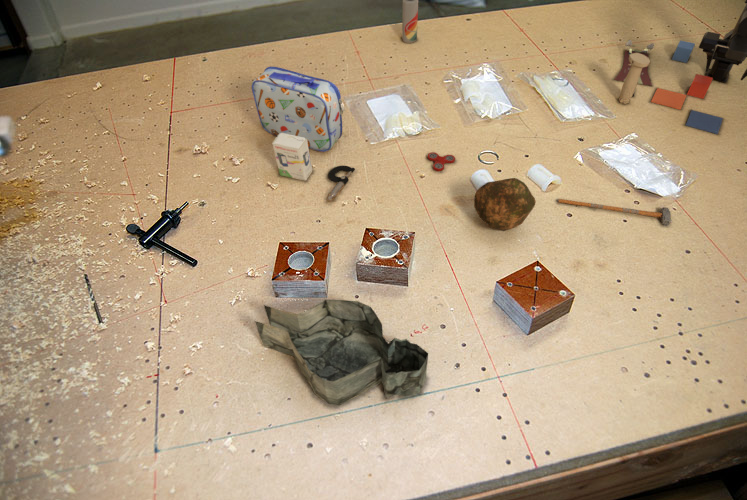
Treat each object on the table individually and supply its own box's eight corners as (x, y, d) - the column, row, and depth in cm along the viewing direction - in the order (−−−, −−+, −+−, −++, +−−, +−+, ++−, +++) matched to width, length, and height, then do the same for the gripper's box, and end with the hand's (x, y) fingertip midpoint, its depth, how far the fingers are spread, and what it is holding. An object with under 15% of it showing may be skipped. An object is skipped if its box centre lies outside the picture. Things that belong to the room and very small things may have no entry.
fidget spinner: (426, 155, 154) (426, 152, 153) (449, 151, 155) (450, 147, 154) (434, 172, 149) (435, 169, 148) (459, 168, 150) (459, 164, 149)
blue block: (674, 53, 189) (680, 40, 185) (689, 56, 187) (695, 43, 183) (671, 59, 186) (677, 46, 182) (686, 63, 184) (692, 49, 180)
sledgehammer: (558, 196, 141) (557, 209, 138) (559, 191, 140) (559, 204, 137) (667, 212, 135) (669, 226, 132) (670, 207, 134) (672, 220, 131)
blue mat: (691, 110, 165) (691, 109, 165) (722, 119, 162) (722, 118, 161) (685, 125, 160) (685, 124, 160) (717, 134, 157) (718, 133, 156)
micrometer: (335, 165, 152) (335, 158, 150) (357, 171, 150) (357, 164, 148) (309, 197, 143) (308, 190, 141) (332, 204, 141) (331, 197, 139)
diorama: (654, 49, 191) (659, 36, 188) (650, 99, 170) (656, 86, 166) (619, 44, 194) (623, 32, 191) (611, 93, 173) (616, 80, 169)
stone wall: (434, 348, 111) (437, 322, 103) (409, 430, 99) (411, 407, 92) (285, 307, 119) (278, 280, 112) (246, 377, 107) (235, 352, 100)
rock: (465, 216, 137) (472, 172, 125) (507, 201, 140) (517, 157, 129) (492, 249, 129) (502, 205, 118) (535, 233, 132) (548, 188, 121)
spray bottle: (417, 43, 199) (419, -12, 184) (402, 43, 199) (402, -11, 185) (416, 35, 203) (418, -18, 188) (401, 36, 203) (402, -18, 188)
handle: (623, 95, 172) (639, 51, 161) (636, 105, 168) (653, 61, 157) (611, 98, 171) (626, 54, 160) (623, 108, 167) (640, 64, 156)
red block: (689, 87, 174) (696, 73, 170) (706, 91, 172) (712, 77, 168) (686, 94, 171) (693, 80, 167) (703, 98, 169) (710, 85, 165)
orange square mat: (657, 88, 174) (657, 87, 173) (686, 96, 170) (686, 95, 170) (650, 102, 169) (651, 100, 169) (680, 109, 165) (680, 108, 165)
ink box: (313, 170, 151) (308, 137, 142) (305, 182, 147) (300, 148, 139) (286, 165, 153) (279, 131, 144) (278, 176, 150) (271, 142, 141)
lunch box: (352, 139, 160) (347, 74, 144) (336, 159, 154) (329, 93, 137) (276, 119, 168) (263, 55, 152) (258, 137, 162) (243, 72, 146)
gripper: (708, 26, 138) (683, 80, 150) (788, 43, 132) (756, 97, 143) (715, 10, 145) (691, 62, 156) (792, 25, 138) (761, 79, 149)
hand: (723, 75), depth 151 cm, fingers open, 9 cm apart
